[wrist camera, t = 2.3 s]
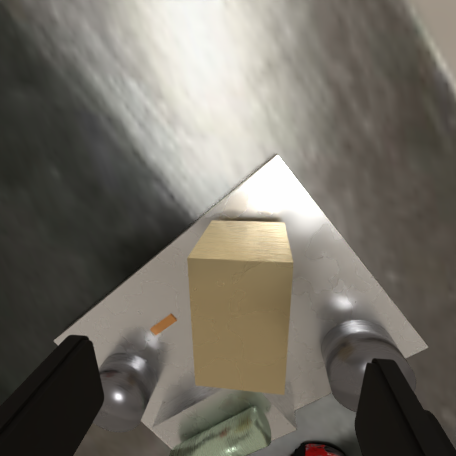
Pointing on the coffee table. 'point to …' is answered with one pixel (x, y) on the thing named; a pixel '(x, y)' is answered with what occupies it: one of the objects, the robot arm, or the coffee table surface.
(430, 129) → the coffee table surface
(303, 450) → the race car
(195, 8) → the coffee table surface
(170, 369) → the levelling base
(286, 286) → the wooden rectangular block
